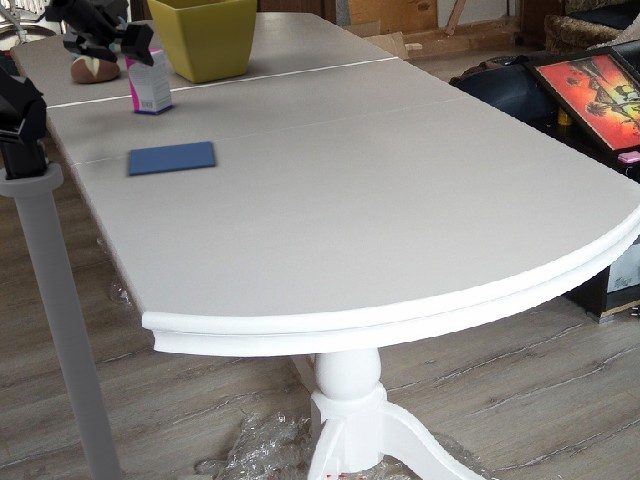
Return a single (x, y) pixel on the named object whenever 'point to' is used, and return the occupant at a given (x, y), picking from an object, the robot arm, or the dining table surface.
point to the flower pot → (206, 36)
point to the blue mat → (171, 158)
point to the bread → (93, 70)
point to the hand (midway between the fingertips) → (134, 62)
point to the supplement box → (150, 84)
